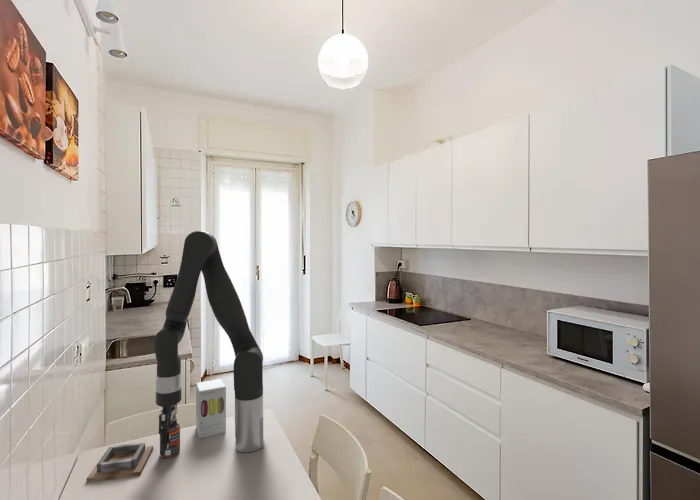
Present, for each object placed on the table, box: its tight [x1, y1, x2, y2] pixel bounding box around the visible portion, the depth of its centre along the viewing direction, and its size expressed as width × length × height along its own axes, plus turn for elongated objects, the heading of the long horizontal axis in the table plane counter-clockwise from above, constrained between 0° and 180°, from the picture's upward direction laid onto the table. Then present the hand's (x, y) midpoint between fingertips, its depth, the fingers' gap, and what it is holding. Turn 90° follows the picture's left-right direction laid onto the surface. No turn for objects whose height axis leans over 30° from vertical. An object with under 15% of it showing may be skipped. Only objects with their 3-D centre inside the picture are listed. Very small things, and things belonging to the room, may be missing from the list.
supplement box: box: [195, 378, 227, 439], centre depth 136 cm, size 10×9×17 cm
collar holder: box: [86, 442, 154, 484], centre depth 115 cm, size 14×14×4 cm
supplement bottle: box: [159, 416, 181, 459], centre depth 121 cm, size 6×6×11 cm
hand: (168, 436), depth 121 cm, fingers open, 8 cm apart
